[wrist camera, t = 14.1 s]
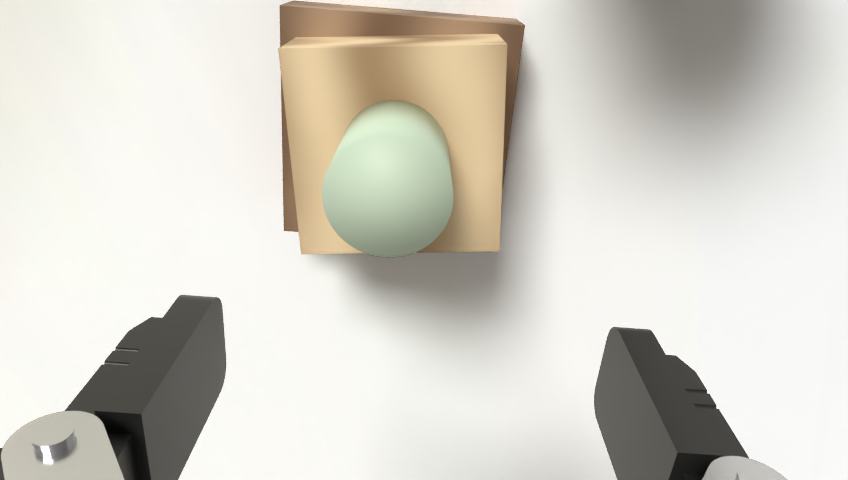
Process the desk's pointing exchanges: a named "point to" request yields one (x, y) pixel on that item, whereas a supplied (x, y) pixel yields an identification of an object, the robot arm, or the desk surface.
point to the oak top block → (412, 82)
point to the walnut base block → (388, 22)
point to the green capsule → (390, 180)
